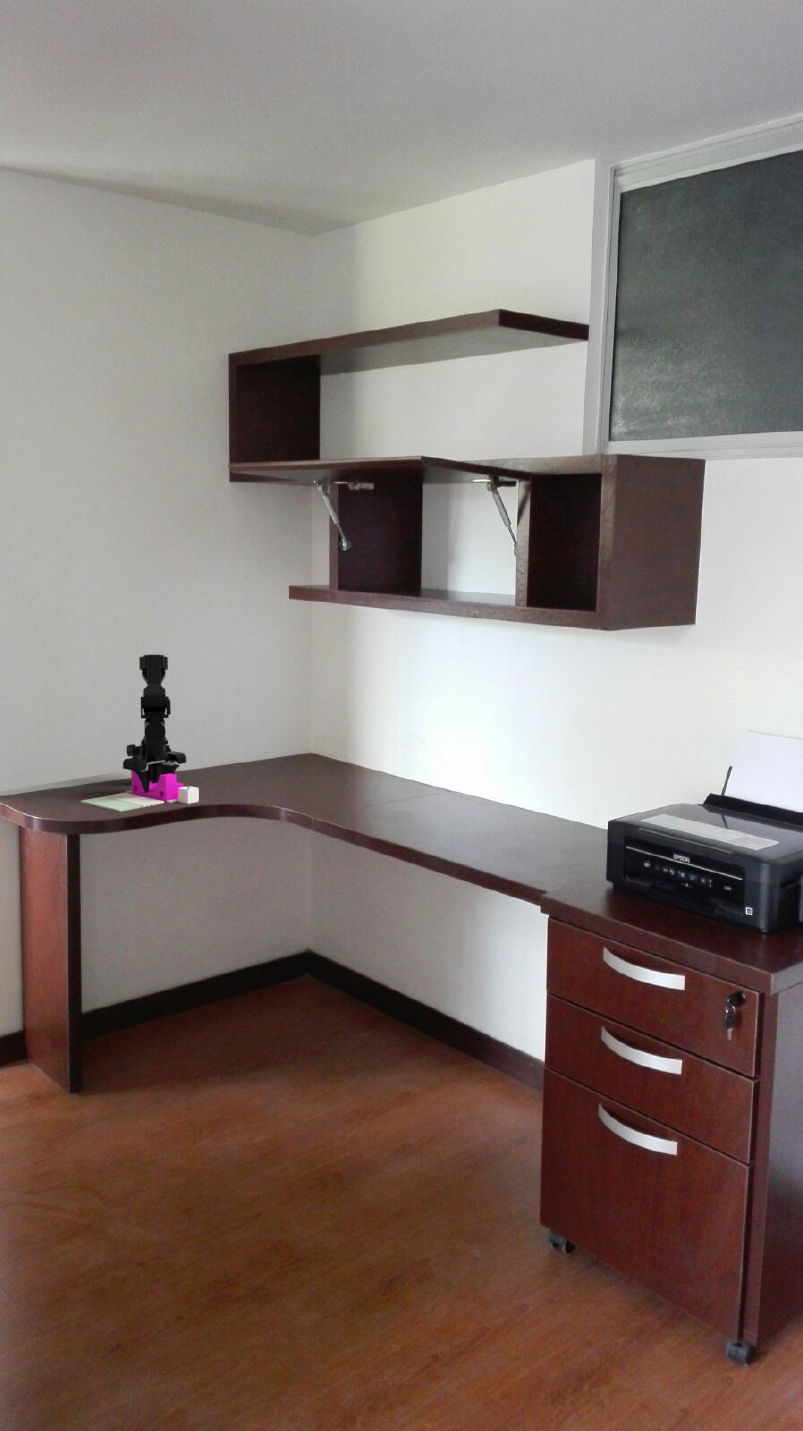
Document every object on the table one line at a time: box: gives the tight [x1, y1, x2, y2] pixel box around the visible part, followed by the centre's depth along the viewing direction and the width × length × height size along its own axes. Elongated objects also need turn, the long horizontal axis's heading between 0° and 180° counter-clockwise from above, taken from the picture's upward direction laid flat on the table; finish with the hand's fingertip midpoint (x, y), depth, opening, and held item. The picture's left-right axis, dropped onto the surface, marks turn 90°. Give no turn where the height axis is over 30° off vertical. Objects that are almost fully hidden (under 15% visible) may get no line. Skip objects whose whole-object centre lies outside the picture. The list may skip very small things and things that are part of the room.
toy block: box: [130, 770, 184, 803], centre depth 336 cm, size 15×6×8 cm, turn 52°
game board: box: [80, 790, 178, 813], centre depth 331 cm, size 22×19×1 cm
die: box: [177, 785, 200, 805], centre depth 331 cm, size 4×4×4 cm
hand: (155, 790), depth 337 cm, fingers open, 6 cm apart
